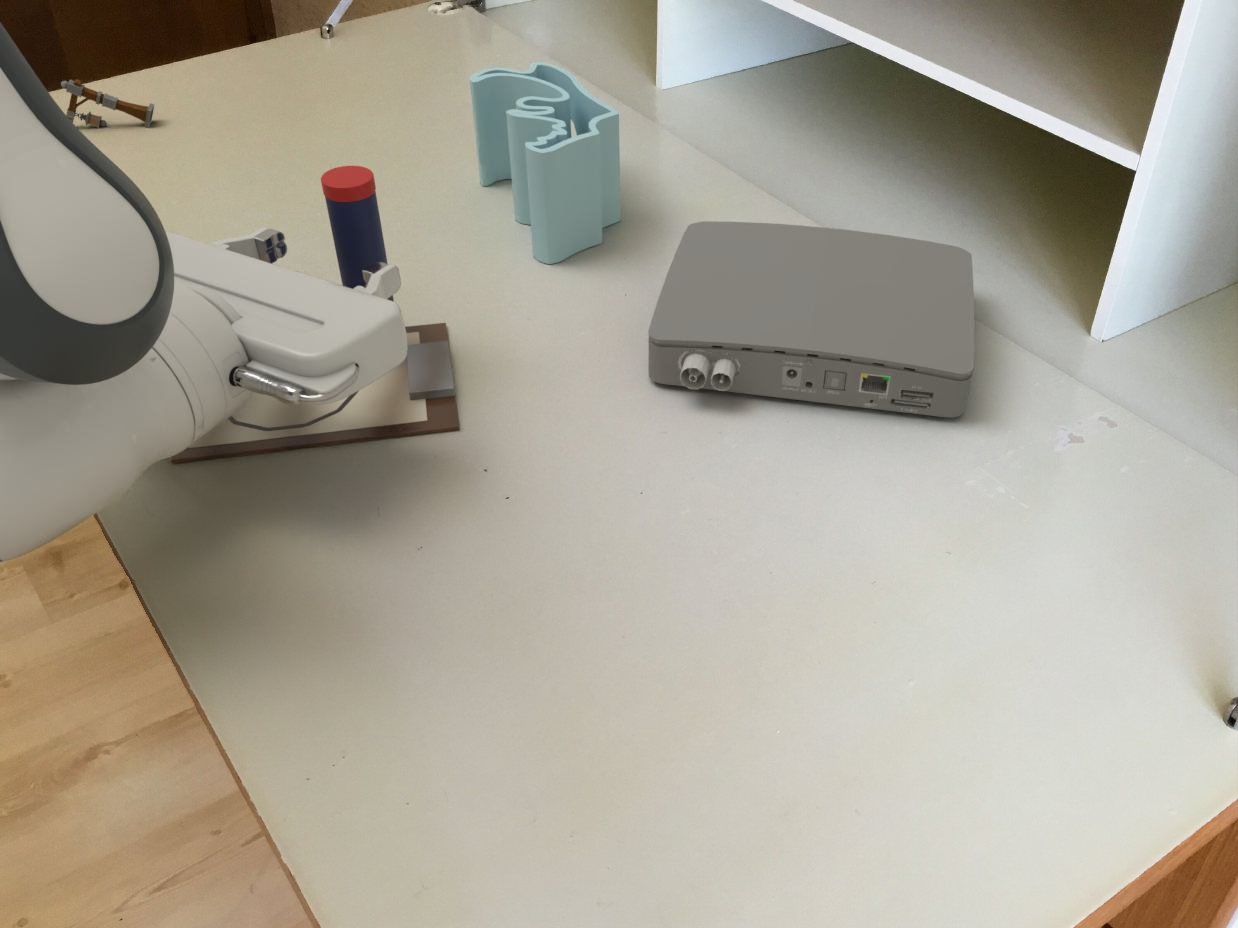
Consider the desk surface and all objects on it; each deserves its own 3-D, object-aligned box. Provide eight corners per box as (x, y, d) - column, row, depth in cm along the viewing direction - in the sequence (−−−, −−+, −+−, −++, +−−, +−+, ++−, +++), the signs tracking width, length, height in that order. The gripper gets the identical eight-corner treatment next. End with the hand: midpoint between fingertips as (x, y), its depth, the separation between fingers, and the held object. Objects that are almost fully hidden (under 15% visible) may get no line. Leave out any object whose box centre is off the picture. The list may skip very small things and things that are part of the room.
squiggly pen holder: (649, 237, 96) (649, 128, 89) (543, 266, 92) (535, 154, 86) (553, 157, 107) (547, 56, 101) (455, 180, 103) (442, 76, 97)
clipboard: (171, 463, 72) (167, 452, 72) (191, 352, 82) (187, 340, 81) (459, 429, 75) (458, 418, 75) (446, 325, 85) (444, 314, 84)
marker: (346, 345, 82) (311, 174, 73) (387, 330, 84) (358, 160, 75) (368, 366, 80) (335, 192, 72) (410, 350, 82) (382, 178, 73)
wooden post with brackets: (58, 115, 111) (64, 71, 108) (147, 143, 114) (155, 101, 111) (54, 122, 109) (59, 78, 107) (144, 151, 112) (151, 109, 110)
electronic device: (963, 439, 75) (977, 376, 72) (640, 400, 78) (640, 338, 75) (962, 292, 89) (973, 234, 86) (688, 264, 92) (690, 206, 89)
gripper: (303, 362, 60) (458, 249, 69) (30, 268, 67) (205, 177, 76) (325, 456, 64) (469, 338, 73) (66, 358, 71) (228, 262, 80)
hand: (333, 255), depth 75 cm, fingers open, 8 cm apart
